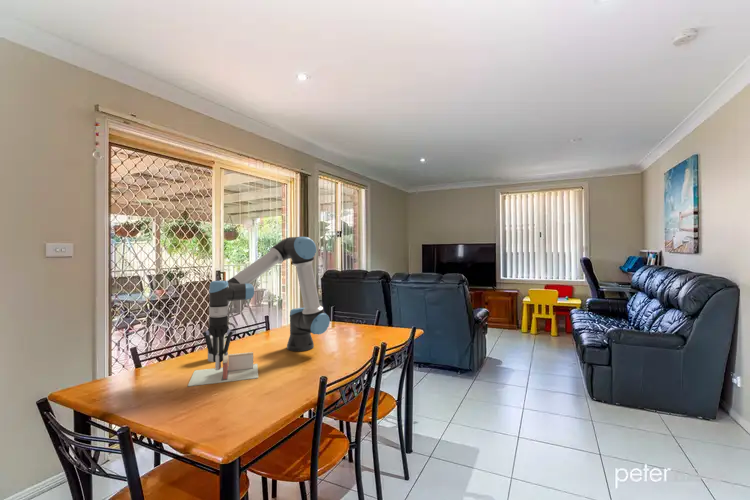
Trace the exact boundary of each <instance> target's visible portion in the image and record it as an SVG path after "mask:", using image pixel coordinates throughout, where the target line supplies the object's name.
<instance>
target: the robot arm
mask: <svg viewBox="0 0 750 500" xmlns="http://www.w3.org/2000/svg"><path fill="white" fill-rule="evenodd" d="M316 253H317V245H316V243H315V241H314V240H313V239H311V238H310V237H308V236H294V237H293V236H290V237H286V238H284V239H282V240H280V241H279V242H278V243H276V244H275V245H273V246H272V247H270V248H269V251H268V252H267V253H265V254H264V255H263V256H261V257H259V258H258V259H257V260H255V261H254V262H252V263H251V264H250V265H248V266H247V267H246V268H244V269H242V270H241V271H240V272H238V273H237V274H236V275H234V276H233V277H231V278H229V279H228V280H212V281H210V283H209V289H208V294H209V297H208V298H209V305H208V306H209V307H208V313H209V317H208V325H209V326H208V328H207V330H206V331H203V332H202V335H203V337H204V339H205V343H206V347H207V353H208V352H209V354H213V362H212V363H215V365H214V367H215V370H220V369H221V368H222V363H223V354H225V353H226V352H228V351H229V347H230V344H231V341H232V340H231V339H232V336H233V335H234V333H235V331H234V330H230V327H229V323H228V322H229V320H228V319H229V316H228V315H229V310H228V309H229V306H228V305H229V302H234V301H246V300H251V299H253V298H254V295H255V288H254V285H253V284H252V282H254V281H255V280H256V279H258V278H259V277H260V276H262V275H263V274H265V273H266V272H268V271H269V270H270V269H272V268H273V267H274V266H275V265H277V264H279V263H280V264H281V263H283V262H284V261H286V260H289V259H291V263H292V265H294V266H295V268H296V274H297V278H298V283H299V288H300V289H299V290H300V293H301V294H300V295H301V299H302V305H303V307H298V308H297V307H296V308H292V309H291V310H290V311H289V337H288V342H287V344H286V349H287V350H288V351H292V352H304V351H305V352H306V351H309V350H313V349H314V347H315V346H314V344H315V343H314V340H313V337H312V335H322V334H324V333H326V332H327V330H328V329H329V326H330V322H331V321H330V317H329V315H328V314H327V313H326V312H325V311H324V307H323V306H322V305H321V303H320V298H319V295H318V294H319V293H318V289H317V284H316V283H317V282H316V278H315V272H314V267H313V262H314V261H315V258H314V257H315V256H316ZM226 334H227V336H226ZM211 335H212V336H213V347H212V343H211V339H210V336H211ZM224 335H225V336H226V338H225V347H224ZM218 337H219V354H217V353H218Z"/></svg>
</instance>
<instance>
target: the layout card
mask: <svg viewBox="0 0 750 500" xmlns="http://www.w3.org/2000/svg"><path fill="white" fill-rule="evenodd" d="M258 365H259V364H258V363H253V368H251V369H242V370H233V371H228V373H227V379H223V366H221V369H220V370H215V368H205V369H197V370H196V369H195V370H194V372H193V373H192V375H191V377H190V380H189V382H188V384H187V387H188V388H189V387H195V386H196V387H197V386H204V385H212V384H213V385H214V384H221V383H230V382H239V381H245V380H253V379H254V380H255V379H259V367H258Z"/></svg>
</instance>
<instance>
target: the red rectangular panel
mask: <svg viewBox="0 0 750 500" xmlns="http://www.w3.org/2000/svg"><path fill="white" fill-rule="evenodd" d="M222 367H223V379H227V373H228V355H225V356H224V358H223V361H222Z"/></svg>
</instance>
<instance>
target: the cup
mask: <svg viewBox="0 0 750 500" xmlns="http://www.w3.org/2000/svg"><path fill="white" fill-rule="evenodd" d="M210 339H211V343H212V347H213V336H212V335H211V334H210ZM225 343H226V334H225V335H224V347H225ZM217 354H219V337H218V353H217ZM223 358H224V354H223ZM207 362H212V363H214V362H213V354H209V352H208V351H207Z"/></svg>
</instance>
